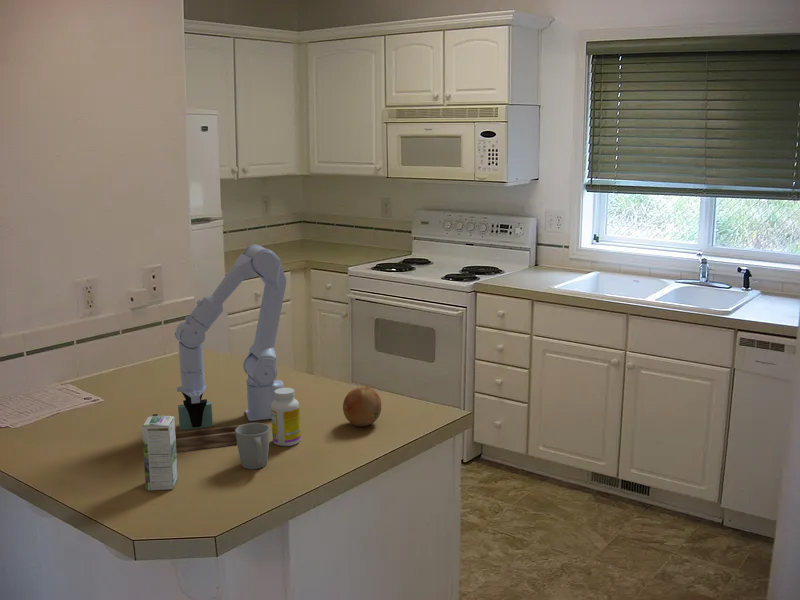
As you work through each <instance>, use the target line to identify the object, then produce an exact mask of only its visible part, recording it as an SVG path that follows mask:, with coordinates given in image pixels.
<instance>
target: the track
mask: <svg viewBox="0 0 800 600" xmlns="http://www.w3.org/2000/svg"><path fill="white" fill-rule="evenodd" d="M152 416H159V415H158V413H155V414H152V415H151V417H152ZM241 425H244V424H243V423H242V424H235V425H227V426H219V427H218V426H217V427H207V428H198V429H190V430H181V431H175V435H176V452H177V453H182V452H188V451H189V452H190V451H195V450H196V451H197V450H206V448H207V449H212V448H213V447H215V448H221V447H220V446H223V447H229V445H231V446H238V445H237V440H236V434H235V430H236V428H237V427H239V426H241ZM213 449H214V448H213Z"/></svg>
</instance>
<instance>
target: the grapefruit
mask: <svg viewBox="0 0 800 600" xmlns="http://www.w3.org/2000/svg"><path fill="white" fill-rule="evenodd" d="M342 403H343V404H342V412H343V414H344V417H345V418H346V420H347V421H348V422H349V423H350V424H352V425H353V426H356V427H360V428H361V427H366V426H370V425H372V424H374V423H375V422H376V421H377V420H378V419H379V417H380V415H381V412H382V399H381V397H380V395H379V394H378V392H377V391H376V390H375V389H374V388H372V387H370V386H369V385H360V386H357V387H355V388H353V389H352V390H350V391H349V392H348V393H347V394H346V395H345V398H344V399H343V402H342Z"/></svg>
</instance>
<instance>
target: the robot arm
mask: <svg viewBox="0 0 800 600" xmlns="http://www.w3.org/2000/svg"><path fill="white" fill-rule="evenodd" d="M256 277H259V278H260V279H261V281H262V282H263V284H264V288H263V291H262V292H263V294H262V299H261V304H260V309H259V314H258V321H257V325H256V331H255V336H254V342H253V344H252V345H251V346H250V348H249V352H248V353H247V354H248V355H247V356H246V358H245V359H244V361H243V365H242V368H243V370H244V373H245V374H246V375H247V379H246V394H247V395H246V396H247V409H245V410H244V412H245V414H246V417H247V420H248V422H256V421H264V420H272V417H271V404H272V402H273V401H274V400H276V398H275V396H274V391H275V390H276V389H279V388H285V387H284V383H283V380H281V379H276V378H277V376H278V369H277V364H276V362H277V355H276V351H275V345H276V340H277V335H278V330H279V324H280V318H281V313H282V308H283V304H284V298H285V292H286V287H287V277H286V274H285V271H284V269H283V266H282V259H281V258H280V257H279V256H278V255H277V254H276V253H275V252H274V251H273V250H271V249H268V248H265V247H263V246H262V245H260V244H255V243H253V244H251V245H249V246H247V247H246V248H245V249H244V250H243V253H241V254H240V255H239V256H238V257H237V259H236V260H235V261H234V264H233V265H232V267H231V268H230V269H229V271H228V272H227V273H226V275H225V276H224V278H222V280H221V282H220V283H219V285H217V287H216V288H215V290H214V291H213V293H212V294H210V295H207V296H203V297H202V299H200V298H199V299H198V300H196V306H195V308H194V309H193V310H192V311H191V313H190V314H189V316H188V315H186V316H185V318H184V321H182V322H180V323H179V324H178V325H177V327H176V329H175V332H174V335H175V338H176V339H177V341H179V342H178V351H179V352H178V357H179V370H180V371H179V372H180V383H181V384H180V385H181V386H177V387H176V392H177V393H181V394H182V396H183V397H184V400H183V401H182V402H183V404H182V405H184V406H185V407H186V409H187V411H188V413H189V416H190V421H191V424H192V427H193V428H194V427H201V425H202V418H203V412H204V408H205V406H206V404H207V402H208V399H204V398H203V394H204V393H205V391H206V389H207V385H206V382H205V381H206V378H205V366H204V365H205V364H204V351H203V343H204V342H205V339H206V333H207V332H208V330H210V328H211V327H212V326H213V324H214V323H215V322H216V320H217V319H218V318H219V317H220V315H221V314H223V311H224V308H223V307H224V306H223V304H224V303H225V302H226V301H227V299H228V298H229V297H230V296H231V295H232V294H233V293H234V292H235V290H236V289H238V287H239V286H240V284H241V283H243V281H244V280H248V279H251V278H253V279H254V278H256ZM202 398H203V399H202Z"/></svg>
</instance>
